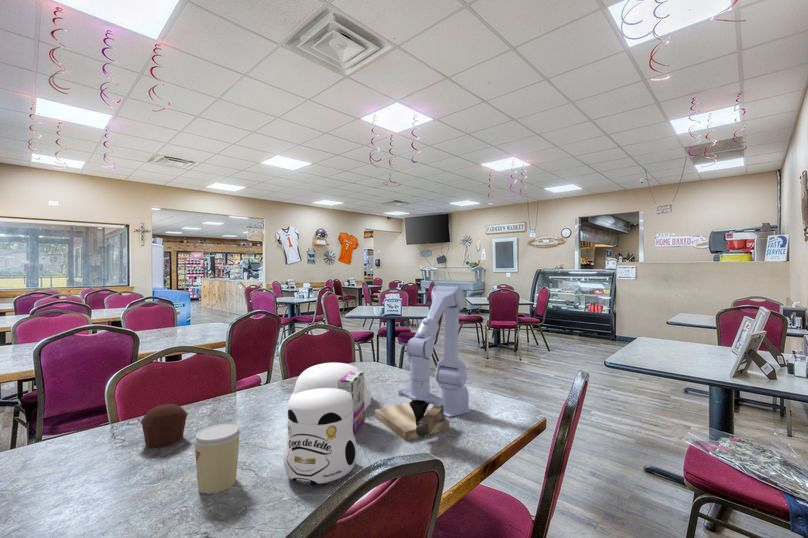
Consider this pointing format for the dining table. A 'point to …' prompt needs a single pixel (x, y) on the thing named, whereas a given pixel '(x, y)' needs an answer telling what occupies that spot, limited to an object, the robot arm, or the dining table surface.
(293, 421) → the doce de leite jar
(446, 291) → the robot arm
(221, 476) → the coffee cup
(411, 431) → the stool seat
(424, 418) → the stool leg
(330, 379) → the dome cover
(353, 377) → the candy bar box
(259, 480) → the dining table surface
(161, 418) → the muffin
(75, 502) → the dining table surface
